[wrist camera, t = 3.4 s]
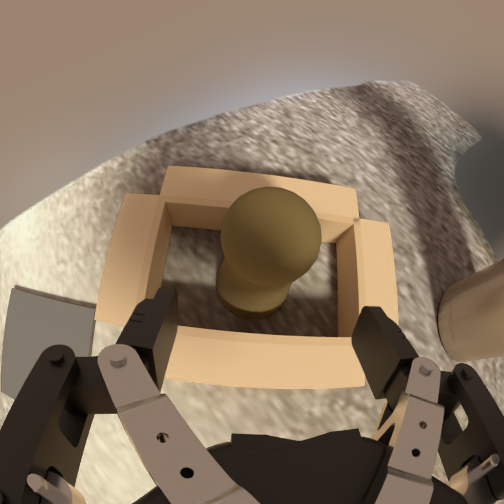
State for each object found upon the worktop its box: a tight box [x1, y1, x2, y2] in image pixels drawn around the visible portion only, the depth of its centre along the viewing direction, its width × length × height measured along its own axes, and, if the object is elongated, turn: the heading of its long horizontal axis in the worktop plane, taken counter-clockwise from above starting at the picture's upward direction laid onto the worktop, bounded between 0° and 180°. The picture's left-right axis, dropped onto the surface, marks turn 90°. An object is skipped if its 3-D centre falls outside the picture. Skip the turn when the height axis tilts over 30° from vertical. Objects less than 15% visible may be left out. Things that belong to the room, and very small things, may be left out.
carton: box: [94, 166, 399, 389], centre depth 21 cm, size 22×16×4 cm
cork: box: [216, 187, 322, 319], centre depth 18 cm, size 6×6×11 cm
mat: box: [1, 288, 96, 399], centre depth 18 cm, size 11×11×1 cm
